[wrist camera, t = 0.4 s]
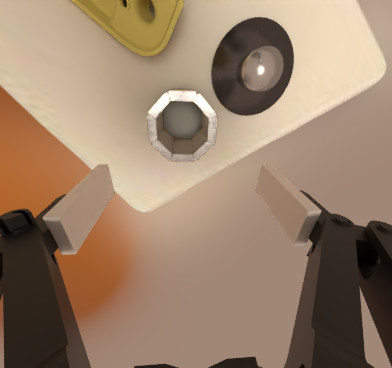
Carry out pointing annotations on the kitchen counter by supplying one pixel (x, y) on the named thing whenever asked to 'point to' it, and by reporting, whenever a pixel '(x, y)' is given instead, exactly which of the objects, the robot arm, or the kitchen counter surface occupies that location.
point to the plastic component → (135, 21)
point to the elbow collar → (181, 147)
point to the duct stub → (252, 66)
